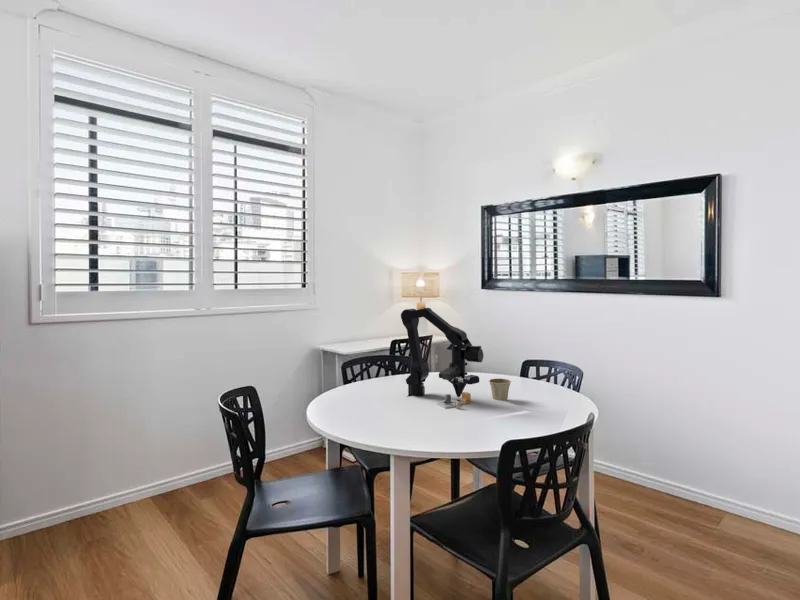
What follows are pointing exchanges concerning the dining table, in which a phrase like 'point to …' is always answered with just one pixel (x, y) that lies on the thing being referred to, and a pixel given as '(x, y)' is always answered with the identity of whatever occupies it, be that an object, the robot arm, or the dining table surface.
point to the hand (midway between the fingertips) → (458, 396)
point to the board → (448, 400)
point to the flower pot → (500, 388)
